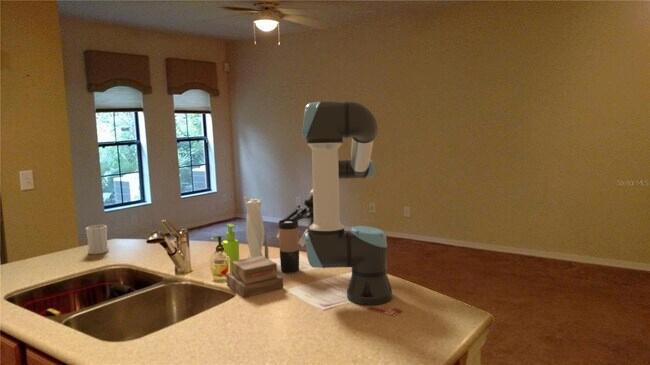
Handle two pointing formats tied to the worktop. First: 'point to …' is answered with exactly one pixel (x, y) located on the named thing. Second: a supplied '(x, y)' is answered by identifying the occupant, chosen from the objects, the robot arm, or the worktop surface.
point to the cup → (97, 239)
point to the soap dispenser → (231, 245)
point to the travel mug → (289, 245)
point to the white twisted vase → (255, 228)
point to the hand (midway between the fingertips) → (289, 241)
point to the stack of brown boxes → (254, 276)
